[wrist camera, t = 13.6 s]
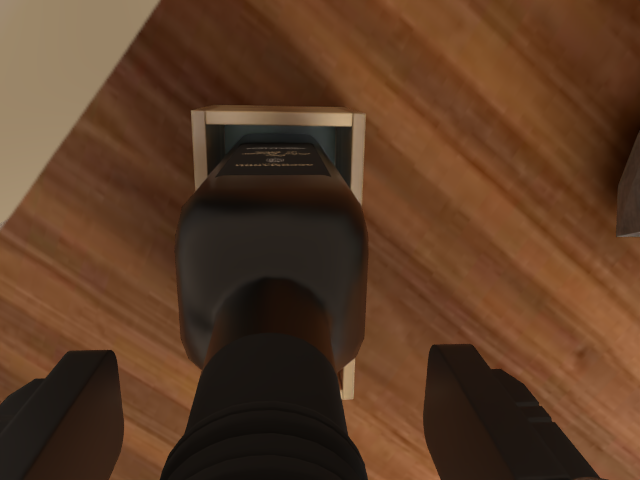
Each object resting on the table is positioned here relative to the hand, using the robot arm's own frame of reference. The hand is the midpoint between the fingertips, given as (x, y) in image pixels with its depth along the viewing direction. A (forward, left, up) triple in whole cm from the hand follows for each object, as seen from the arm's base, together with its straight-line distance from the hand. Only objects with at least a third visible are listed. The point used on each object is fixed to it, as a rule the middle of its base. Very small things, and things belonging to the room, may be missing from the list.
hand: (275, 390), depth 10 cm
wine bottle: (0, 0, -26) cm, 26 cm away
